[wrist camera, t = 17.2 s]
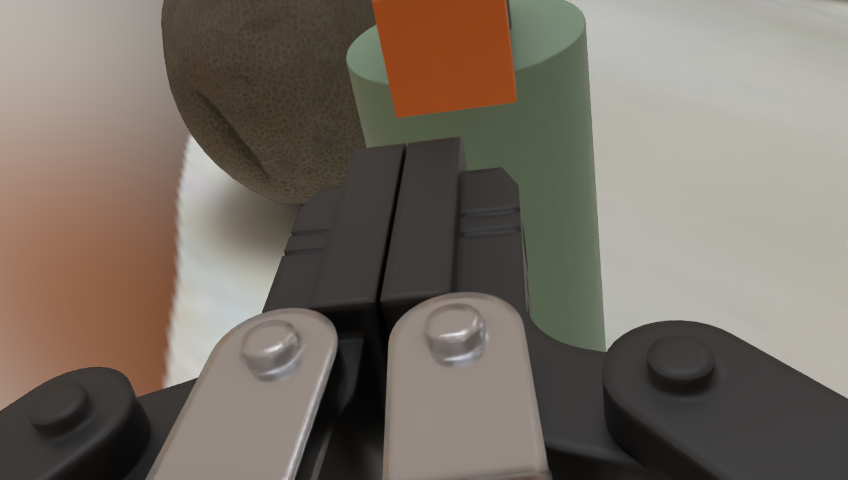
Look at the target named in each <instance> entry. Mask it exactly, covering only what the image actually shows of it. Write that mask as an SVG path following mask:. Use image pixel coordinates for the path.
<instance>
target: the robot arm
mask: <svg viewBox="0 0 848 480" xmlns="http://www.w3.org/2000/svg"><path fill="white" fill-rule="evenodd" d="M291 234H292V237H289V240H288V243H287V245H286V248H285V251H284V252H285V256H282V259H281V262H280V265H279V267H278V270H277V273H276V276H275V278H274V281H273V284H272V287H271V289H270V292H269V295H268V297H267V300H266V303H265V306H264V308H263V311H262V314H259V315H257V316H255V317H252V318H250V319H248V320H246V321H244V322H242V323H241V324H239V325H237V326H236V327H235V328H233V329H232V330H230V331H229V332H228V333H227V334H226V335H225V336H224V337H223V338H222V339H221V340H220V341H219V342H218V343H217V344H216V346H215V348H214V349H213V351H212V352H211V354H210V356H209V358H208V360H207V362H206V364H205V366H204V368H203V370H202V372H201V373H200V375H199V377H198V378H195V379H193V380H190V381H187V382H184V383H181V384H178V385H175V386H171V387H168V388H165V389H162V390H159V391H156V392H152V393H149V394H146V395H143V396H140V397H137V395H136V393H135V391H134V390H133V388H132V386H131V384H130V382H129V380H128V378H127V377H126V376H125V375H124V374H122V373H121V372H119V371H117V370H114V369H111V368H104V367H90V368H84V369H79V370H75V371H71V372H68V373H65V374H62V375H60V376H57V377H55V378H53V379H51V380H49V381H47V382H45V383H43V384H42V385H40V386H38V387H36V388H35V389H33V390H32V391H30V392H29V393H27V394H25V395H24V396H22V397H21V398H19V399H18V400H16V401H15V402H14V403H12V404H10V405H9V406H7V407H6V408H4V409H3V410H1V411H0V480H848V399H847V398H845V397H843V396H842V395H840V394H838V393H836V392H835V391H833V390H831V389H829V388H827V387H826V386H824V385H822V384H820V383H818V382H817V381H815V380H813V379H811V378H810V377H808V376H806V375H804V374H802V373H801V372H799V371H797V370H795V369H793V368H792V367H790V366H788V365H786V364H784V363H783V362H781V361H779V360H777V359H776V358H774V357H772V356H770V355H768V354H767V353H765V352H763V351H761V350H759V349H758V348H756V347H754V346H752V345H750V344H749V343H747V342H745V341H743V340H742V339H740V338H738V337H736V336H734V335H733V334H731V333H729V332H726V331H724V330H722V329H720V328H717V327H714V326H711V325H708V324H703V323H698V322H692V321H682V320H680V321H661V322H655V323H650V324H646V325H643V326H640V327H638V328H635V329H633V330H631V331H629V332H627V333H626V334H624V335H622V336H621V337H620V338H619V339H617V340H616V341H615V342H614V343H613V344H612V346H611V347H610V348H609V349H608V351H607V352H602V351H596V350H590V349H584V348H579V347H575V346H571V345H568V344H565V343H562V342H560V341H558V340H556V339H554V338H552V337H550V336H549V335H547V334H546V333H544V332H543V331H542V330H541V329H539V328H538V327H537V326H536V325H535V323H534V322H533V321H532V308H531V294H530V279H529V269H528V261H527V252H526V244H525V236H524V227H523V219H522V211H521V203H520V194H519V186H518V184H517V183H516V182H515V181H514V180H513V179H512V177H511V176H510V175H509V174H508V173H507V172H506V171H505V170H504V169H503V168H502V167H497V168H488V169H480V170H471V171H468V168H467V162H466V155H465V150H464V145H463V141H462V138H461V136H459V137H451V138H443V139H435V140H427V141H418V142H410V143H409V144H408V146H407V144H406V143H403V144H395V145H387V146H379V147H371V148H362V149H355V150H354V151H353V152H352V155H351V159H350V162H349V165H348V169H347V172H346V176H345V179H344V182H343V186H334V187H325V188H321V189H320V190H319V191H318V192H317V193H316V194H315V195H314V196H313V197H312V198H311V199H310V200H309V201H308V202H307V203H306V204H305V205H304V206H303V207H302V208H301V209H300V210H299V212H298V215H297V218H296V221H295V223H294V226H293V229H292V232H291Z"/></svg>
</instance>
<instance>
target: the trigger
mask: <svg viewBox="0 0 848 480" xmlns="http://www.w3.org/2000/svg"><path fill="white" fill-rule="evenodd" d="M372 6H373V11H374V16H375V20H376V25H377V30H378V34H379V39H380V44H381V49H382V53H383V58H384V63H385V68H386V72H387V77H388V82H389V87H390V91H391V96H392V101H393V106H394V110H395V115H396V117H397V118H401V117H409V116H416V115H424V114H432V113H440V112H447V111H455V110H463V109H470V108H478V107H486V106H494V105H501V104H509V103H515V102H516V101H517V97H516V82H515V72H514V64H513V55H512V47H511V38H510V29H509V21H508V12H507V4H506V0H372Z"/></svg>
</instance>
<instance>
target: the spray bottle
mask: <svg viewBox="0 0 848 480" xmlns="http://www.w3.org/2000/svg"><path fill="white" fill-rule="evenodd" d="M506 4H507V12H508V21H509V29H510V38H511V47H512V55H513V64H514V72H515V82H516V97H517V101H516V102H515V103H509V104H501V105H494V106H486V107H478V108H470V109H463V110H455V111H447V112H440V113H432V114H424V115H416V116H409V117H401V118H397V117H396V115H395V110H394V106H393V101H392V96H391V91H390V87H389V82H388V77H387V72H386V68H385V63H384V58H383V53H382V49H381V44H380V39H379V34H378V30H377V25H375V26H373V27H371V28H370V29H368V30H367V31H365V32H364V33H363V34H361V35H360V36H359V37H358V38H357V39H356V40H355V41H354V42H353V43H352V44H351V46H350V48H349V49H348V51H347V56H346V62H347V67H348V71H349V75H350V80H351V84H352V88H353V92H354V96H355V100H356V105H357V109H358V113H359V117H360V121H361V126H362V130H363V134H364V138H365V142H366V147H367V148H371V147H379V146H387V145H395V144H403V143H406V144H407V146H408V144H409V143H410V142H418V141H427V140H435V139H443V138H451V137H459V136H461V138H462V141H463V145H464V150H465V155H466V162H467V168H468V171H471V170H480V169H488V168H497V167H502V168H503V169H504V170H505V171H506V172H507V173H508V174H509V175H510V176H511V177H512V179H513V180H514V181H515V182H516V183H517V184H518V186H519V194H520V203H521V211H522V219H523V227H524V236H525V244H526V252H527V261H528V269H529V279H530V294H531V308H532V321H533V322H534V323H535V325H536V326H537V327H538V328H539V329H541V330H542V331H543V332H544V333H546V334H547V335H549V336H550V337H552V338H554V339H556V340H558V341H560V342H562V343H565V344H568V345H571V346H575V347H579V348H584V349H590V350H596V351H602V352H606V347H605V330H604V314H603V298H602V281H601V265H600V249H599V233H598V216H597V200H596V184H595V167H594V151H593V135H592V119H591V102H590V86H589V70H588V53H587V37H586V22H585V17H584V15H583V13H582V12H581V11H580V10H579V9H578V7H576V6H575V5H573V4H571V3H569V2H567V1H565V0H506Z"/></svg>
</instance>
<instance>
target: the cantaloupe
mask: <svg viewBox="0 0 848 480" xmlns="http://www.w3.org/2000/svg"><path fill="white" fill-rule="evenodd" d="M375 25H376V20H375V16H374V11H373V6H372V0H164V3H163V7H162V19H161V26H162V36H163V49H164V57H165V64H166V69H167V75H168V80H169V85H170V89H171V92H172V94H173V97H174V100H175V102H176V105H177V108H178V110H179V112H180V114H181V116H182V118H183V120H184V122H185V124H186V126H187V128H188V130H189V131H190V133H191V135H192V136H193V137H194V139H195V140H196V141H197V143H198V144H199V145H200V147H201V148H202V149H203V150H204V152H205V153H206V154H207V155H208V156H209V157H210V158H211V159H212V160H213V161H214V162H215V163H216V164H217V165H218V166H219V167H220V168H221V169H222V170H224V171H225V172H226V173H228V174H229V175H230V176H231V177H232V178H233V179H235V180H236V181H238V182H239V183H241V184H242V185H244V186H245V187H247V188H249V189H251V190H252V191H254V192H256V193H258V194H260V195H263V196H265V197H266V198H268V199H271V200H274V201H277V202H280V203H284V204H289V205H305V204H306V203H307V202H308V201H309V200H310V199H311V198H312V197H313V196H314V195H315V194H316V193H317V192H318V191H319V190H320V189H321V188H325V187H334V186H343V182H344V179H345V176H346V172H347V169H348V165H349V162H350V159H351V155H352V152H353V151H354V150H355V149H362V148H367V147H366V142H365V138H364V134H363V130H362V126H361V121H360V117H359V113H358V109H357V105H356V100H355V96H354V92H353V88H352V84H351V80H350V75H349V71H348V67H347V62H346V56H347V51H348V49H349V48H350V46H351V44H352V43H353V42H354V41H355V40H356V39H357V38H358V37H359V36H360V35H361V34H363V33H364V32H365V31H367V30H368V29H370V28H371V27H373V26H375Z"/></svg>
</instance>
